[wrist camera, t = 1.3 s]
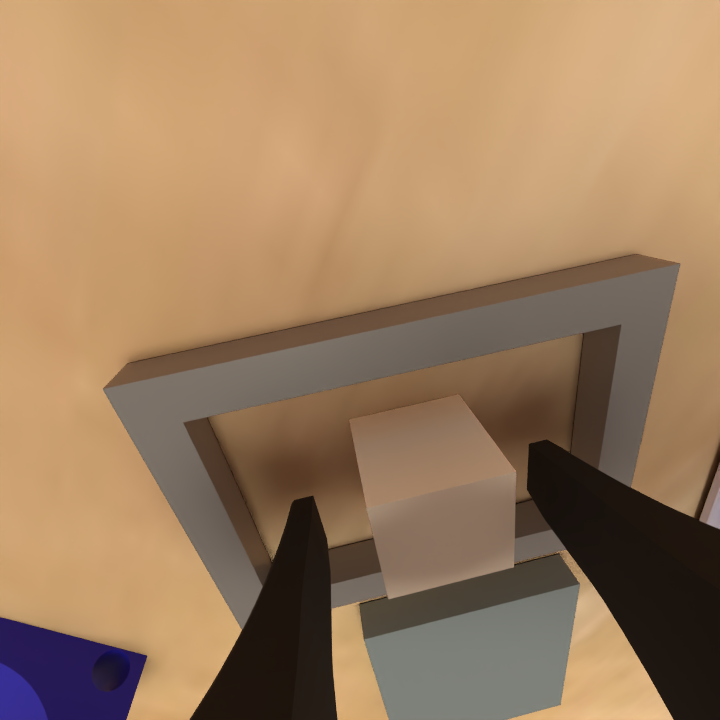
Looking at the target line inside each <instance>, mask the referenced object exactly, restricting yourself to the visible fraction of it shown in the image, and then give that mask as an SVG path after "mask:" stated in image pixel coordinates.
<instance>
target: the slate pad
mask: <svg viewBox="0 0 720 720" xmlns="http://www.w3.org/2000/svg"><path fill="white" fill-rule="evenodd" d="M579 586H580V583H579V582H578V581H577V579H576V578H575V576H574V575H573V573H572V572H571V570H570V569H569V567H568V566H567V565H566V563H565V562H564V560H563V559H562V557H561V556H560V554H558V555H554V556H550V557H546V558H542V559H538V560H534V561H530V562H526V563H522V564H518V565H514V567H513V568H509V569H505V570H501V571H497V572H493V573H490V574H486V575H482V576H478V577H474V578H470V579H466V580H462V581H458V582H454V583H451V584H447V585H443V586H439V587H435V588H431V589H427V590H423V591H419V592H415V593H412V594H408V595H404V596H400V597H396V598H392V599H388V597H387V598H383V599H379V600H375V601H371V602H367V603H363V604H360V605H359V606H360V613H361V621H362V628H363V636H364V641H365V644H366V648H367V651H368V654H369V657H370V660H371V664H372V667H373V670H374V673H375V676H376V680H377V683H378V686H379V689H380V692H381V696H382V699H383V702H384V705H385V708H386V712H387V715H388V718H389V720H507V719H510V718H514V717H518V716H521V715H525V714H529V713H532V712H536V711H540V710H543V709H547V708H551V707H554V706H558V705H561V698H562V692H563V686H564V680H565V673H566V667H567V661H568V655H569V649H570V642H571V636H572V630H573V624H574V618H575V611H576V605H577V599H578V593H579Z"/></svg>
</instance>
